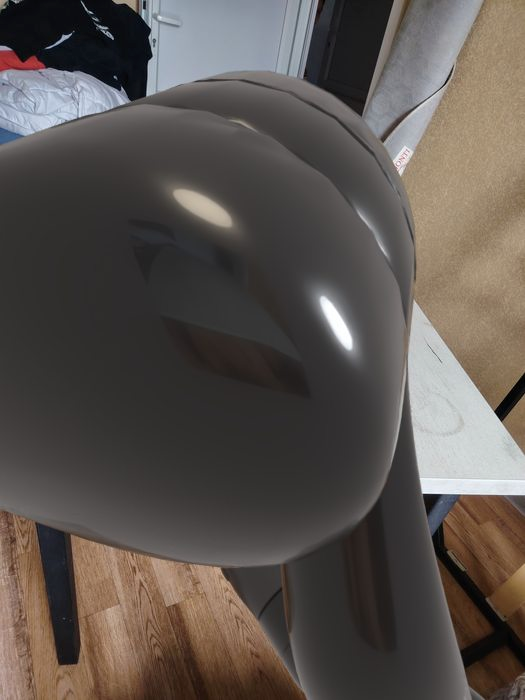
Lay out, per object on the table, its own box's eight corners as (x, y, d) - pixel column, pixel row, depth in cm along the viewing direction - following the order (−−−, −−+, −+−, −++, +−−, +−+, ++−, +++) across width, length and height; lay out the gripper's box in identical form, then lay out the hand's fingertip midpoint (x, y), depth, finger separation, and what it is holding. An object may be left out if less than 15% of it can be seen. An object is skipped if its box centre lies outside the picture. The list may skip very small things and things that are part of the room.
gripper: (342, 473, 38) (235, 354, 48) (184, 556, 31) (93, 394, 40) (318, 525, 43) (224, 407, 52) (175, 609, 35) (95, 452, 45)
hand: (167, 401), depth 46 cm, fingers open, 8 cm apart
